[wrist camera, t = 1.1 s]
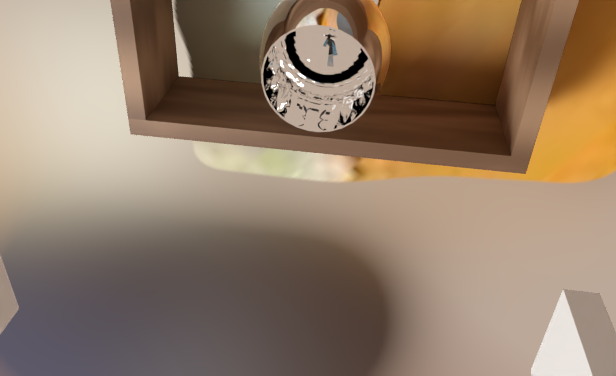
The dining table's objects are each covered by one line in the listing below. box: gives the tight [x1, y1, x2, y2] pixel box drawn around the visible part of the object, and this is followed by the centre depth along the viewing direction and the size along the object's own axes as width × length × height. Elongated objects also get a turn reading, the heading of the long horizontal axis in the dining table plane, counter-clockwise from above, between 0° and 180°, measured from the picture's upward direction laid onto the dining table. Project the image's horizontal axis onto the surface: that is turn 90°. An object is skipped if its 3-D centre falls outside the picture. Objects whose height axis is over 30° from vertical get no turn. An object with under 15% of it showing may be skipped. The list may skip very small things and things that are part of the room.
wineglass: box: [260, 0, 391, 132], centre depth 28 cm, size 6×6×12 cm
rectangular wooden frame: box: [110, 0, 579, 174], centre depth 31 cm, size 14×22×6 cm, turn 88°
